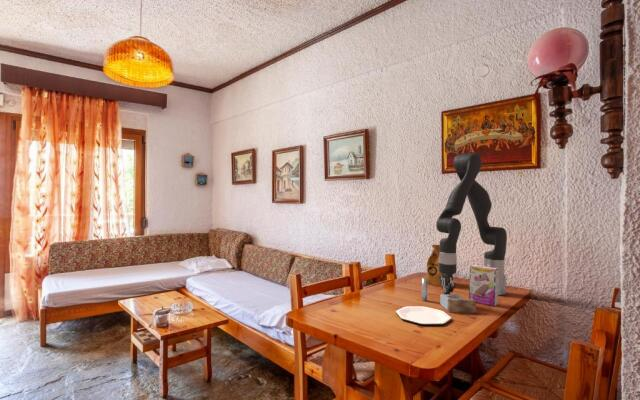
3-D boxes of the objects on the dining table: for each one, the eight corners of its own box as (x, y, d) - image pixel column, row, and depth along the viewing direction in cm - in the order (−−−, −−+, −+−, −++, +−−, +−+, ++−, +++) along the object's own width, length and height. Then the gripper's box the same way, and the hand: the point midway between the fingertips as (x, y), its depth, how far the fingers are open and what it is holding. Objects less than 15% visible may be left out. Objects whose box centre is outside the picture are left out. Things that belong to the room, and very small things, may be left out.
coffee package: (423, 283, 189) (423, 243, 189) (434, 280, 198) (435, 242, 198) (439, 287, 182) (440, 245, 182) (450, 283, 191) (451, 244, 190)
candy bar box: (468, 301, 157) (469, 265, 157) (472, 299, 161) (473, 264, 161) (494, 307, 150) (495, 269, 149) (498, 304, 153) (499, 268, 153)
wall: (473, 310, 144) (473, 299, 144) (475, 312, 142) (475, 300, 142) (447, 310, 143) (447, 298, 143) (449, 312, 141) (449, 300, 141)
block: (458, 304, 152) (458, 294, 152) (466, 310, 144) (466, 299, 144) (440, 304, 151) (440, 294, 151) (447, 310, 143) (447, 299, 143)
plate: (388, 318, 134) (388, 314, 134) (411, 306, 149) (411, 303, 149) (437, 331, 121) (437, 327, 121) (457, 317, 136) (457, 314, 136)
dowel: (426, 299, 159) (426, 278, 159) (428, 301, 156) (428, 279, 156) (420, 299, 159) (421, 278, 159) (422, 301, 156) (422, 279, 156)
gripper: (462, 265, 147) (461, 305, 148) (449, 259, 160) (449, 295, 161) (445, 265, 147) (444, 305, 147) (434, 258, 160) (433, 295, 161)
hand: (446, 300), depth 154 cm, fingers closed
